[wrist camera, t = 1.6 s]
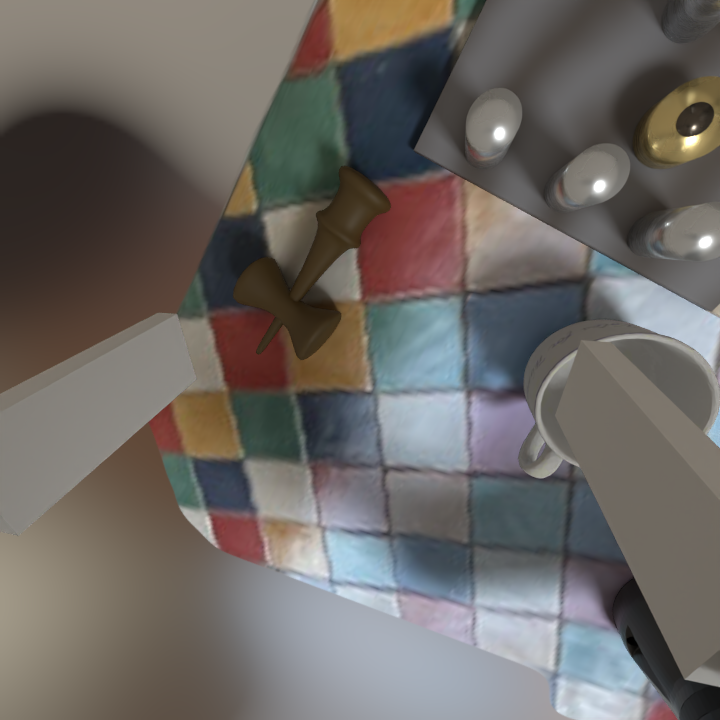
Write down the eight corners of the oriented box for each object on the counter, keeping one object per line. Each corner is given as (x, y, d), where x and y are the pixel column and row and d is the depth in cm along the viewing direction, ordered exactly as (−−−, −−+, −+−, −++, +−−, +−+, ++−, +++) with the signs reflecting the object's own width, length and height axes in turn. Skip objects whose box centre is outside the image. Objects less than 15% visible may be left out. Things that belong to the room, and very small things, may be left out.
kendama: (419, 222, 30) (303, 374, 38) (339, 154, 30) (240, 319, 38) (410, 213, 24) (277, 394, 32) (312, 131, 25) (203, 330, 33)
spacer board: (1163, 170, 18) (1192, 168, 18) (853, 390, 25) (865, 395, 24) (544, -113, 21) (547, -125, 20) (415, 152, 28) (413, 149, 27)
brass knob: (731, 110, 21) (763, 94, 19) (676, 180, 23) (699, 173, 21) (667, 81, 22) (690, 62, 20) (617, 152, 24) (634, 142, 21)
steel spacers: (855, 41, 19) (1010, -38, 14) (655, 265, 25) (709, 271, 20) (586, -83, 21) (631, -200, 15) (456, 158, 26) (455, 135, 21)
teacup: (601, 283, 27) (652, 297, 20) (688, 377, 28) (769, 425, 20) (465, 384, 33) (467, 423, 26) (539, 460, 33) (561, 521, 26)
